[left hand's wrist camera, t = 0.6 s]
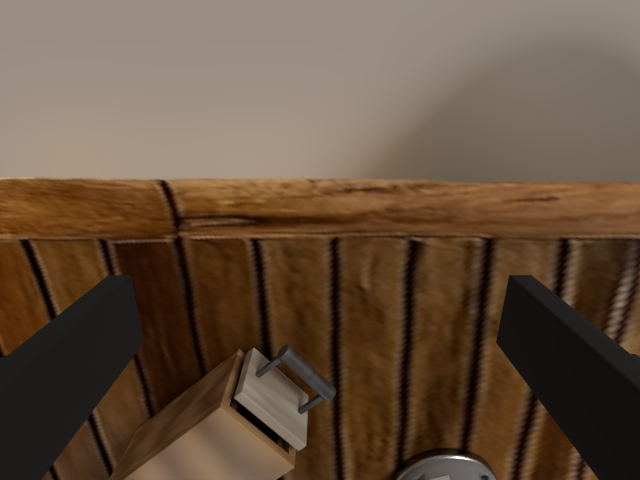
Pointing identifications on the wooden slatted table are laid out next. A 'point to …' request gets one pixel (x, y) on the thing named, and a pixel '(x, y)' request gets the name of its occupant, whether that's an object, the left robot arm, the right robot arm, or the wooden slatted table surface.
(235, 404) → the drawer
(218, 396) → the cabinet
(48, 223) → the wooden slatted table surface
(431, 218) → the wooden slatted table surface
